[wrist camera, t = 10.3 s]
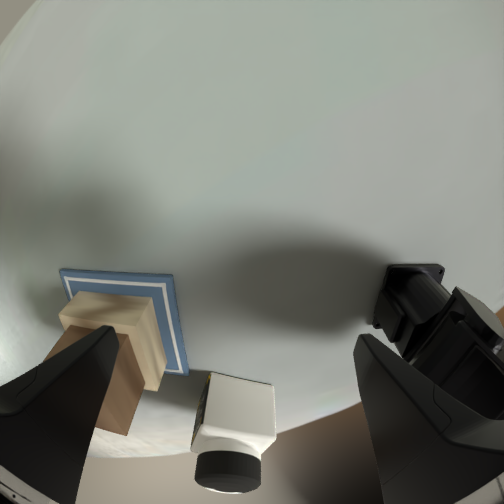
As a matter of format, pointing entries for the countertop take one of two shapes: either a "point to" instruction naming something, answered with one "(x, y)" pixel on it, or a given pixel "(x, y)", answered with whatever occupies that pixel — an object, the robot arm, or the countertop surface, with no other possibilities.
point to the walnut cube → (113, 382)
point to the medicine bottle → (232, 433)
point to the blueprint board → (142, 286)
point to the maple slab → (122, 326)
